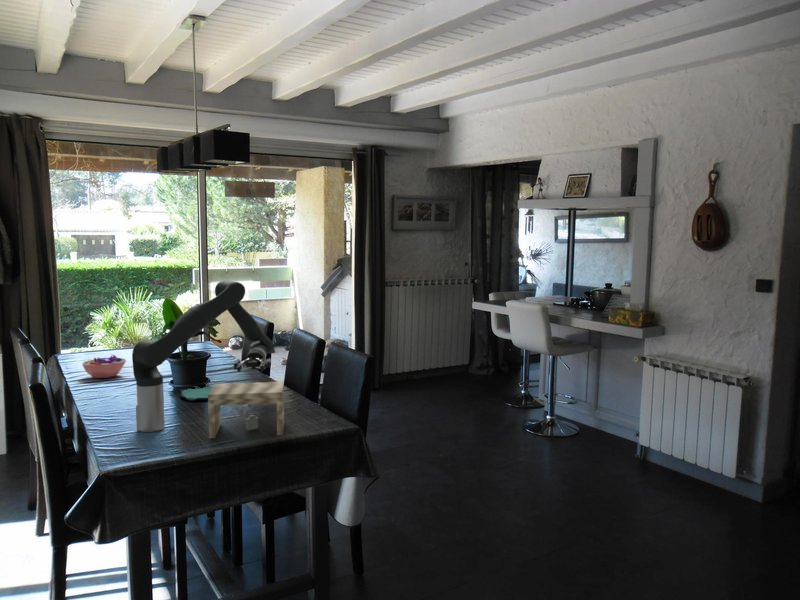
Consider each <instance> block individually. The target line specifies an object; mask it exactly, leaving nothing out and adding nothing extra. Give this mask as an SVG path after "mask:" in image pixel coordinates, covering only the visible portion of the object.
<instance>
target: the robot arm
mask: <svg viewBox="0 0 800 600" xmlns="http://www.w3.org/2000/svg"><path fill="white" fill-rule="evenodd" d="M214 294H215V296H214V297H213V298H211V299H209V300H207V301H205V302H201V303H199V304H196V305H194V306H193V307H190V308H189V309H188V310H186V311H185V312H184V313H182V314H181V315H179V317H178V318H177V319H176V320H175V322H174V324H173V325H172V327H171V329H170V330H169V331H168V332H167V333H166V334H165V335H163V336H162V337H160V338H159V339H157V340H155V341H151V340H140V341H138V342H137V343H136V344H135V345H134V346H133V349H132V353H131V356H132V357H131V359H132V370H133V371H132V372H133V376H134V379H135V383H136V404H137V405H136V406H135V419H136V432H143V433H153V432H158V431H162V430H164V429H165V426H166V424H165V400H164V399H165V398H164V378H163V377H164V376H163V375H162V374H161V372H160V371H159V370H158V366H160V365H162V364H163V363H164V362H165V361H167V360H168V358H170V357H171V356H172V355H173V354H174V353H175V352H176V351H177V349H179V348H180V347H181V346H182V345H184V344H186V343H187V342H188V341H189V340H190V339H191V338H193V337H194V336H196V335H197V334H198V333H199V332H201V331H202V330H203V329H205V328H206V327H207V326H208V325H209V324H210V323H211V322H212V323H213V321H214V320H216V319H217V318H218V317H220V315H223V313H224V312H226V311H227V312H228V313H229V315H231V316H232V318H233V319H234V321H235V322H236V324H237V325H238V326H239V328H240V330H241V333H243V335H244V337H245V339H246V340H247V341H248V342H252V343H251V344H250V345H249V347H248V350H249V352H248V353H247V355H246V357H245V359H244V360H242V361H241V360H240V359H236V360H235V362H233V370H234V371H235V370H236V371H237V372H238V373H241V372H242V370H247V369H251V370H254V371H255V370H259V369H260V372H263V371H264V370H265V369H270V368H271V367H272V366H271V365H272V358H271V357H269V358H267V356H268V355H269V354H271V353H273V351H274V350H275V349H274V347H275V346H274V345H275V344H274V343H273V341H272V340H271V339H270V338H269V336H267V335H266V334H265V333H264V332H263V331H262V330H261V329H260V325H258V323H257V321H256V320H255V318H254V317H253V316H252V315H251V314H250V313H249V312H248V311H247V310H246V308H244V307H243V306H242V304H240V302H241V301H242V300H243V299H244V297H245V295H246V288H245V286H244V284H242V282H238V281H233V280H221V281H219V282H218V283H216V285H215V288H214Z"/></svg>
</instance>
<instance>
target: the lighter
mask: <svg viewBox="0 0 800 600" xmlns="http://www.w3.org/2000/svg"><path fill="white" fill-rule="evenodd" d="M237 413H238V414H239V416H240V418H241V420H242V421H243V422H245V429H246V431H251V430H258V429H259V417H258V416H256V415H255V414H249V415H248V417H247V416H246V415H245V411H243V409H239V410H238V411H237Z"/></svg>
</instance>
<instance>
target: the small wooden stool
mask: <svg viewBox="0 0 800 600" xmlns="http://www.w3.org/2000/svg"><path fill="white" fill-rule="evenodd" d="M284 384H285V383H284V381H264V382H263V381H262V382H259V381H258V382H257V381H256V382H233V383H232V382H229V383H226V382H225V383H214V384H213V385H212V389H211V390H210V392H209V394H208V399H207V408H208V438H209V439H215V438H216V436H217V435H218V431H219V430H220V428H221V425H222V417H221V415H222V413H221V406H236V405H237V406H238V405H261V404H264V405H266V404H276V433H277V434H276V435H277V436H283V434H284V427H285V426H284V425H285V393H284V392H285V390H284V389H285V388H284V387H285V386H284Z"/></svg>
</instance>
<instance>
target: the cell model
mask: <svg viewBox="0 0 800 600" xmlns="http://www.w3.org/2000/svg"><path fill="white" fill-rule="evenodd" d="M93 358H94V359H90V360H86V361H84V362H82V363H81V364H82V367H83V368H84V371H85V372H86V373H87V375H88V376H89V375H90V376H91V377H93V378H94V379H107V378H112V377H115V376H117V375H119V374H120V372H121V371H122V370H123V368H124V365H125V364H126V362H127V360H126V359H125V358H120V357H117V356H116V355H115V354H110V357H103V358H101V357H93Z"/></svg>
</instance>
